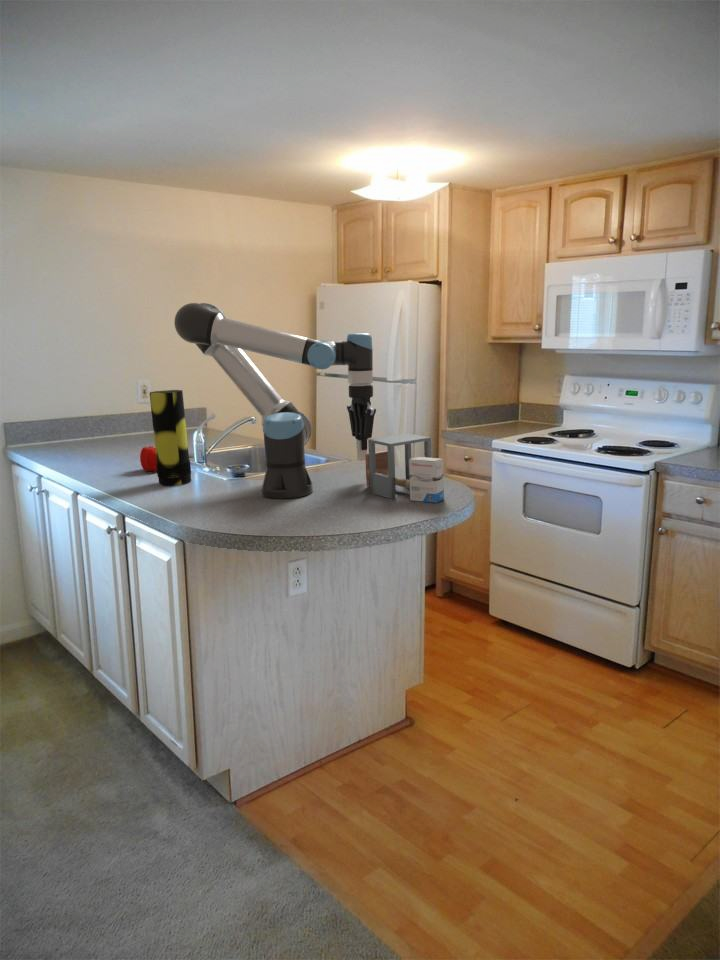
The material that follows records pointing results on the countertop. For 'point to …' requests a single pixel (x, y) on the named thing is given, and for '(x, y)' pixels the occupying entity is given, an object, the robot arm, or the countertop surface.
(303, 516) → the countertop surface
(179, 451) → the container
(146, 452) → the tomato
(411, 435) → the grey open frame holder
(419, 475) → the ink box
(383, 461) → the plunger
